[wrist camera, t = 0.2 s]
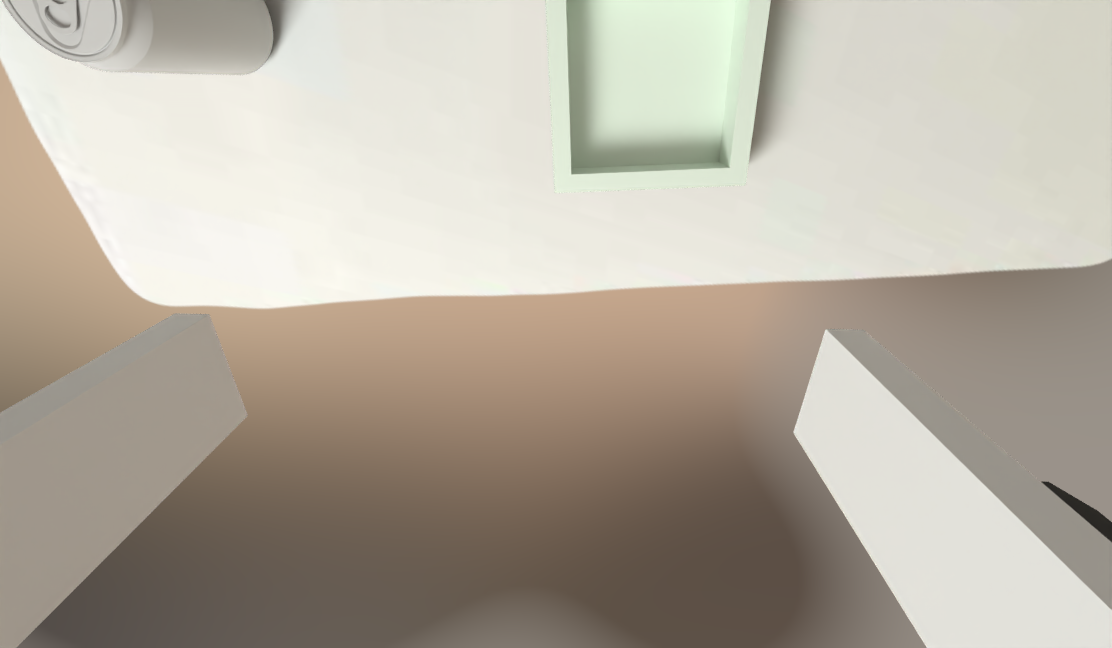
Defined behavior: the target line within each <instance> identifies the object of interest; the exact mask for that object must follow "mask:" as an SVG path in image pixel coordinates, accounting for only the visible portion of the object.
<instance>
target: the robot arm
mask: <svg viewBox="0 0 1112 648" xmlns="http://www.w3.org/2000/svg"><path fill="white" fill-rule="evenodd" d="M246 417H247V412H246V410H245V407H244V404H243V402H242V400H241V397H240V394H239V391H238V389H237V386H236V383H235V381H234V378H233V376H232V373H231V370H230V368H229V365H228V362H227V360H226V357H225V355H224V352H223V349H222V347H221V344H220V341H219V339H218V336H217V334H216V331H215V329H214V326H213V323H212V321H211V318H210V315H209V314H173V315H172V316H170V317H168V318H166V319H165V320H163V321H161V322H159V323H157V324H156V325H154V326H152V327H151V328H149V329H147V330H145V331H143V332H142V333H140V334H138V335H136V336H135V337H133V338H131V339H129V340H128V341H126V342H124V343H122V344H121V345H119V346H117V347H115V348H113V349H112V350H110V351H108V352H107V353H105V354H103V355H101V356H99V357H98V358H96V359H94V360H92V361H91V362H89V363H87V364H85V365H84V366H82V367H80V368H79V369H77V370H75V371H73V372H71V373H69V374H68V375H66V376H64V377H63V378H61V379H59V380H57V381H55V382H54V383H52V384H50V385H49V386H47V387H45V388H43V389H41V390H40V391H38V392H36V393H34V394H33V395H31V396H29V397H27V398H25V399H24V400H22V401H20V402H18V403H17V404H15V405H13V406H11V407H10V408H8V409H6V410H4V411H3V412H1V413H0V648H16V647H17V646H18V645H19V644H20V643H21V642H22V641H23V640H24V639H25V638H26V637H27V636H28V635H29V634H30V633H31V632H32V631H33V630H34V629H35V628H36V627H37V626H38V625H39V624H40V623H41V622H42V621H43V620H44V619H45V618H46V617H47V616H48V615H49V614H50V613H51V612H52V611H53V610H54V609H55V608H56V607H57V606H58V605H59V604H60V603H61V602H62V601H63V600H64V599H65V598H66V597H67V596H68V595H69V594H70V593H71V592H72V591H73V590H74V589H75V588H76V587H77V586H78V585H79V584H80V583H81V582H82V581H83V580H84V579H85V578H86V577H87V576H88V575H89V574H90V573H91V572H92V571H93V570H94V569H95V568H96V567H97V566H98V565H99V564H100V563H101V562H102V561H103V560H104V559H105V558H106V557H107V556H108V555H109V554H110V553H111V552H112V551H113V550H114V549H115V548H116V547H117V546H118V545H119V544H120V543H121V542H122V541H123V540H124V539H125V538H126V537H127V536H128V535H129V534H130V533H131V532H132V531H133V530H134V529H135V528H136V527H137V526H138V525H139V524H140V523H141V522H142V521H143V520H144V519H145V518H146V517H147V516H148V515H149V514H150V513H151V512H152V511H153V510H154V509H155V508H156V507H157V506H158V505H159V504H160V503H161V502H162V501H163V500H164V499H165V498H166V497H167V496H168V495H169V494H170V493H171V492H172V491H173V490H174V489H175V488H176V487H177V486H178V485H179V484H180V483H181V482H182V481H183V480H184V479H185V478H186V477H187V476H188V475H189V474H190V473H191V472H192V471H193V470H194V469H195V468H196V467H197V466H198V465H199V464H200V463H201V462H202V461H203V460H204V459H205V458H206V457H207V456H208V455H209V454H210V453H211V452H212V451H213V450H214V449H215V448H216V447H217V446H218V445H219V444H220V443H221V442H222V441H223V440H224V439H225V438H226V437H227V436H228V435H229V434H230V433H231V432H232V431H233V430H234V429H235V428H236V427H237V426H238V425H239V424H240V423H241V422H242V421H243V420H244V419H245V418H246ZM794 434H795V436H796V437H797V439H798V441H799V442H800V444H801V445H802V447H803V449H804V450H805V452H806V454H807V455H808V457H809V458H810V460H811V461H812V463H813V465H814V466H815V468H816V470H817V471H818V473H819V475H820V476H821V478H822V479H823V481H824V483H825V484H826V486H827V487H828V489H829V491H830V492H831V494H832V495H833V497H834V499H835V500H836V502H837V504H838V505H839V507H840V508H841V510H842V512H843V513H844V515H845V516H846V518H847V520H848V521H849V523H850V524H851V526H852V528H853V529H854V531H855V533H856V534H857V536H858V537H859V539H860V541H861V542H862V544H863V545H864V547H865V549H866V550H867V552H868V553H869V555H870V556H871V558H872V560H873V562H874V563H875V564H876V566H877V568H878V570H879V571H880V573H881V574H882V576H883V578H884V579H885V581H886V582H887V584H888V586H889V587H890V589H891V590H892V592H893V594H894V595H895V597H896V599H897V600H898V602H899V603H900V605H901V607H902V608H903V610H904V612H905V613H906V615H907V616H908V618H909V620H910V621H911V623H912V624H913V626H914V628H915V629H916V631H917V632H918V634H919V636H920V637H921V639H922V641H923V642H924V644H925V645H926V647H927V648H1112V522H1111V521H1109V520H1108V519H1107V518H1106V517H1105V516H1103V515H1102V514H1101V513H1100V512H1098V511H1097V510H1095V509H1094V508H1092V507H1090V506H1089V505H1087V504H1085V503H1083V502H1082V501H1080V500H1078V499H1077V498H1075V497H1073V496H1072V495H1070V494H1068V493H1066V492H1065V491H1063V490H1061V489H1060V488H1058V487H1056V486H1055V485H1053V484H1051V483H1049V482H1041V481H1039V480H1038V479H1037V478H1036V477H1035V476H1033V475H1032V474H1031V473H1030V472H1029V471H1028V470H1027V469H1025V468H1024V467H1023V466H1022V465H1021V464H1020V463H1018V462H1017V461H1016V460H1015V459H1014V458H1013V457H1011V456H1010V455H1009V454H1008V453H1007V452H1006V451H1004V450H1003V449H1002V448H1001V447H1000V446H999V445H997V444H996V443H995V442H994V441H993V440H991V439H990V438H989V437H988V436H987V435H986V434H984V433H983V432H982V431H981V430H980V429H979V428H978V427H976V426H975V425H974V424H973V423H972V422H971V421H969V420H968V419H967V418H966V417H965V416H964V415H962V414H961V413H960V412H959V411H958V410H957V409H955V408H954V407H953V406H952V405H951V404H949V403H948V402H947V401H946V400H945V399H943V397H941V396H940V395H939V394H938V393H937V392H936V391H934V390H933V389H932V388H931V387H930V386H928V385H927V384H926V383H925V382H924V381H923V380H921V379H920V378H919V377H918V376H917V375H916V374H914V373H913V372H912V371H911V370H910V369H909V368H907V367H906V366H905V365H904V364H903V363H902V362H901V361H899V360H898V359H897V358H896V357H895V356H894V355H892V354H891V353H890V352H889V351H888V350H886V349H885V348H884V347H883V346H882V345H881V344H880V343H878V342H877V341H876V340H875V339H874V338H873V337H871V336H870V335H869V334H868V333H867V332H866V331H864V330H847V329H846V330H845V329H826V330H825V333H824V337H823V340H822V343H821V346H820V349H819V353H818V356H817V359H816V362H815V365H814V369H813V372H812V375H811V379H810V381H809V385H808V388H807V391H806V394H805V397H804V401H803V404H802V407H801V410H800V414H799V417H798V420H797V423H796V426H795V430H794Z"/></svg>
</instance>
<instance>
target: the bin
mask: <svg viewBox="0 0 1112 648" xmlns="http://www.w3.org/2000/svg"><path fill="white" fill-rule="evenodd" d="M545 2H546V22H547V43H548V64H549V85H550V106H551V127H552V147H553V168H554V189H555V193H570V192H595V191H620V190H645V189H670V188H695V187H720V186H745V185H746V178H747V171H748V164H749V156H750V149H751V142H752V134H753V127H754V120H755V112H756V105H757V98H758V91H759V83H760V76H761V69H762V61H763V54H764V47H765V39H766V32H767V25H768V18H769V10H770V3H771V0H545Z"/></svg>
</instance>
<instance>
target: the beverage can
mask: <svg viewBox="0 0 1112 648" xmlns="http://www.w3.org/2000/svg"><path fill="white" fill-rule="evenodd" d="M2 2H3V4H4V5H5V7H6V8H7V10H8V11H9V13H10V14H11V16H12V17H13V18H14V19H15V21H16V22H17V23H18V24H19V25H20V27H21V28H22V29H23V30H24V31H25V32H26V33H27V34H28V35H29V36H30V37H31V38H33V39H34V40H35V41H36V42H37V43H39V44H40V45H41V46H43V47H44V48H46V49H47V50H49V51H50V52H52V53H54V54H56V55H58V56H60V57H62V58H65V59H68V60H72V61H76V62H79V63H81V64H83V65H85V66H87V67H90V68H93V69H96V70H100V71H106V72H130V73H171V74H212V75H245V74H249V73H252V72H254V71H256V70H258V69H259V68H260V67H261V66H263V64H264V63H265V62H266V61H267V59H268V57H269V55H270V53H271V49H272V45H273V27H272V21H271V17H270V14H269V11H268V9H267V6H266V4H265V2H264V0H2Z"/></svg>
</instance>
